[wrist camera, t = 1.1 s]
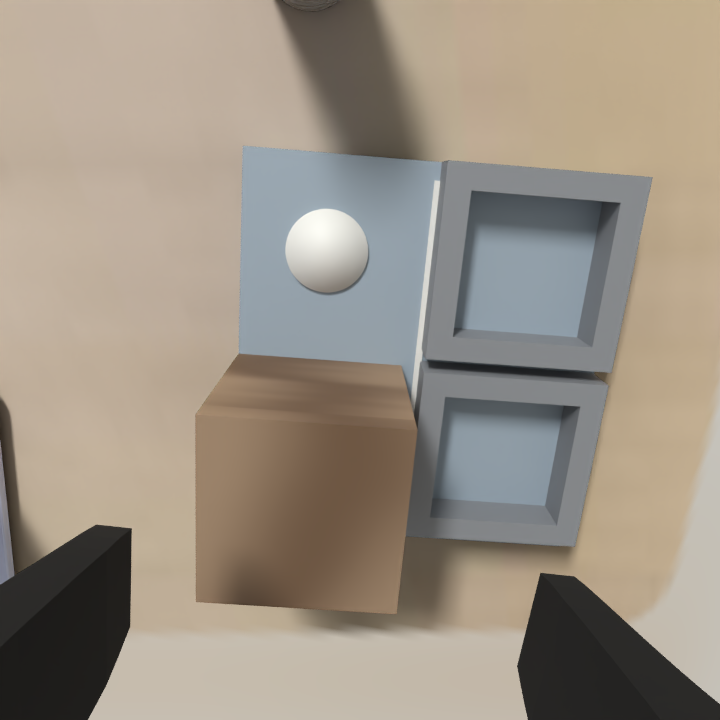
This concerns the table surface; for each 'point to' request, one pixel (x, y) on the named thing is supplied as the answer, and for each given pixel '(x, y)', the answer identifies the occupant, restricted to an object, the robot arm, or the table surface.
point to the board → (454, 315)
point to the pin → (310, 4)
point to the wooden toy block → (304, 484)
